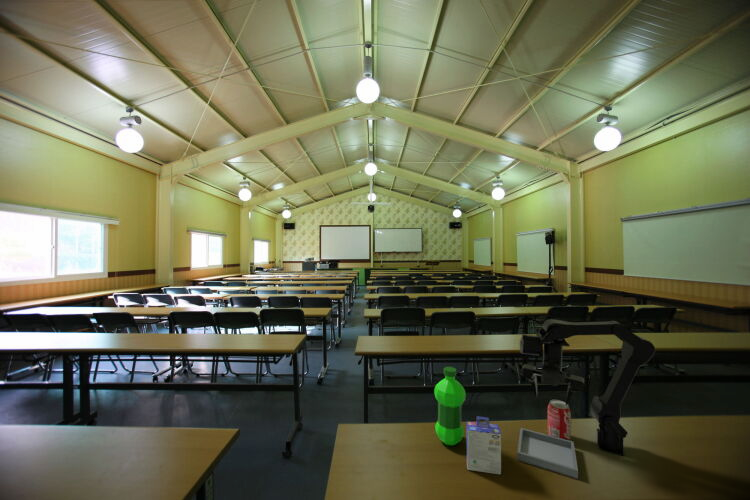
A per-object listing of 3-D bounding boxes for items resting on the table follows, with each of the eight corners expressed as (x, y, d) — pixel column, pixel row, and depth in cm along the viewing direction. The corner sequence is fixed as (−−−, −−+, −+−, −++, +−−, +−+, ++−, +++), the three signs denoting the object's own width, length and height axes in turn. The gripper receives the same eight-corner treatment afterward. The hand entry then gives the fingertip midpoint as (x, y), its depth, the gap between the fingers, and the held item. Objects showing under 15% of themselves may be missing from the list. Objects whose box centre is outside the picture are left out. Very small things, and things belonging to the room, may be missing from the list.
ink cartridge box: (498, 462, 95) (498, 416, 95) (502, 475, 89) (502, 427, 89) (465, 458, 97) (466, 413, 97) (467, 470, 91) (467, 423, 91)
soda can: (568, 434, 109) (569, 401, 109) (572, 446, 103) (572, 410, 103) (546, 429, 112) (546, 397, 112) (548, 440, 106) (548, 406, 106)
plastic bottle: (430, 444, 103) (430, 371, 103) (440, 428, 112) (441, 361, 112) (459, 454, 98) (460, 378, 98) (468, 437, 107) (468, 367, 107)
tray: (573, 449, 101) (573, 441, 101) (578, 479, 88) (578, 470, 88) (520, 434, 109) (520, 427, 109) (517, 460, 96) (517, 452, 96)
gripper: (519, 356, 105) (517, 401, 105) (584, 371, 94) (582, 420, 95) (524, 348, 114) (523, 389, 114) (585, 360, 103) (583, 405, 104)
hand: (550, 400), depth 106 cm, fingers open, 9 cm apart
